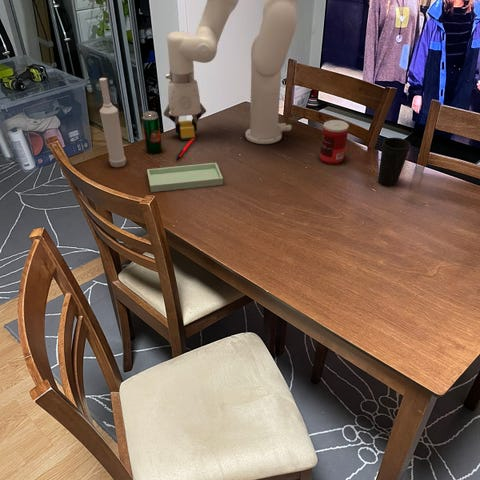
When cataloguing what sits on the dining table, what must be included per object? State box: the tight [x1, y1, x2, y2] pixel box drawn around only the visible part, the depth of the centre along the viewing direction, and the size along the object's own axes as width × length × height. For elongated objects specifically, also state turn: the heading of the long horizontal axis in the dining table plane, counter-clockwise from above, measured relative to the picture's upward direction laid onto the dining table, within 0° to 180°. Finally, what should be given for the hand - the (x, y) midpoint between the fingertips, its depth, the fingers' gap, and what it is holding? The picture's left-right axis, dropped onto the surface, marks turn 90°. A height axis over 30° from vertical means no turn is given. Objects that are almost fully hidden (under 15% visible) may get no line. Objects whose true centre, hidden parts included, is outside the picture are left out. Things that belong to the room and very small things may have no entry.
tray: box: [146, 162, 224, 193], centre depth 142 cm, size 21×10×2 cm, turn 103°
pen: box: [175, 134, 197, 161], centre depth 158 cm, size 1×19×1 cm, turn 165°
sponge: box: [179, 119, 196, 141], centre depth 164 cm, size 4×7×4 cm, turn 14°
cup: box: [377, 137, 412, 188], centre depth 139 cm, size 8×8×12 cm
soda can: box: [141, 110, 163, 154], centre depth 153 cm, size 5×5×12 cm
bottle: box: [99, 77, 127, 168], centre depth 142 cm, size 5×5×25 cm
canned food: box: [319, 119, 350, 165], centre depth 150 cm, size 8×8×11 cm
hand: (186, 133), depth 165 cm, fingers closed on sponge, 4 cm apart
